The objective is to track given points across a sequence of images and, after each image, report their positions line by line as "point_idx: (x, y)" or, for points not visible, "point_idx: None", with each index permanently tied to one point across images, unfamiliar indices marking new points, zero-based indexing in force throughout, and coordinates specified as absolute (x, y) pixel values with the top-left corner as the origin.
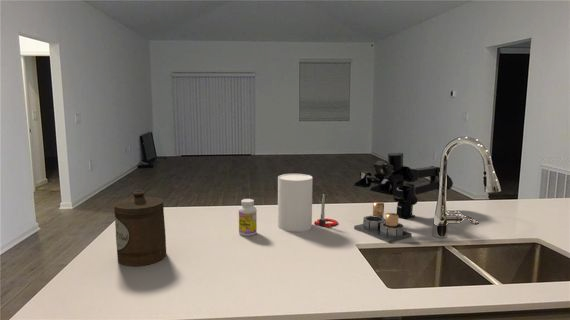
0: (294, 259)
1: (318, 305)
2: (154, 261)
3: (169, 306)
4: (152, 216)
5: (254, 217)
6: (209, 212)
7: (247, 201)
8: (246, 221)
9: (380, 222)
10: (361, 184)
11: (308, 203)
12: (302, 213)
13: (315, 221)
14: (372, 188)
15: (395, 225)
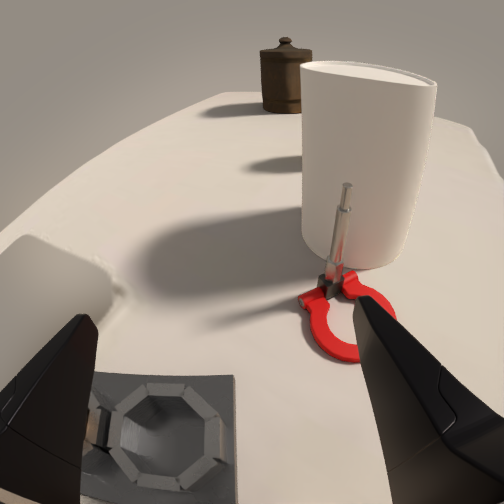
0: (166, 180)
1: (73, 176)
2: (264, 108)
3: (171, 118)
4: (262, 61)
5: None
6: (464, 160)
7: None
8: None
9: (112, 422)
10: (389, 428)
11: (309, 163)
12: (302, 180)
13: (351, 272)
14: (70, 330)
15: None
